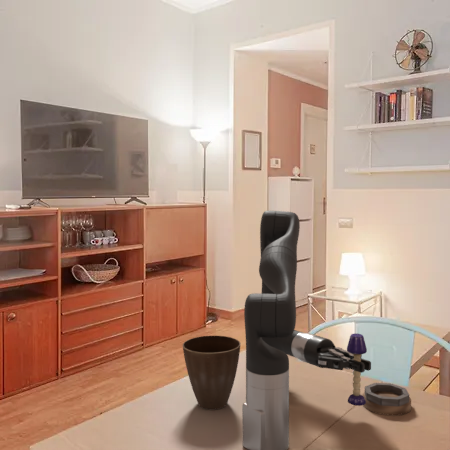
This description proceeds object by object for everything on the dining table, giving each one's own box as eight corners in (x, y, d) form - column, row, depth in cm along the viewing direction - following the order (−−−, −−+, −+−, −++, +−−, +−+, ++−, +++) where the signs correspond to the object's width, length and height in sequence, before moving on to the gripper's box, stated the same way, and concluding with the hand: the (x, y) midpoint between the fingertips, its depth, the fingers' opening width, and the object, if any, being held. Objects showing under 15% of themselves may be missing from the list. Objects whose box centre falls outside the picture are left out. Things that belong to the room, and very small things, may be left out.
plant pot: (206, 422, 122) (206, 356, 121) (172, 402, 134) (171, 342, 132) (252, 405, 132) (252, 344, 130) (216, 388, 143) (216, 332, 142)
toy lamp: (366, 407, 120) (367, 337, 119) (346, 405, 121) (347, 336, 120) (365, 399, 125) (366, 332, 124) (345, 398, 126) (346, 331, 125)
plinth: (392, 419, 123) (392, 404, 122) (352, 403, 132) (352, 389, 132) (420, 406, 130) (421, 392, 130) (381, 392, 139) (381, 378, 139)
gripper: (294, 339, 130) (348, 357, 116) (330, 331, 138) (385, 346, 124) (293, 368, 130) (347, 389, 116) (330, 358, 138) (384, 376, 125)
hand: (366, 367), depth 120 cm, fingers closed on toy lamp
